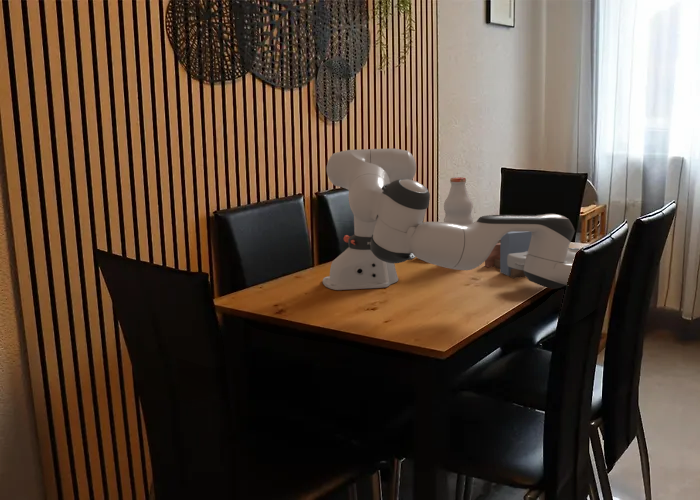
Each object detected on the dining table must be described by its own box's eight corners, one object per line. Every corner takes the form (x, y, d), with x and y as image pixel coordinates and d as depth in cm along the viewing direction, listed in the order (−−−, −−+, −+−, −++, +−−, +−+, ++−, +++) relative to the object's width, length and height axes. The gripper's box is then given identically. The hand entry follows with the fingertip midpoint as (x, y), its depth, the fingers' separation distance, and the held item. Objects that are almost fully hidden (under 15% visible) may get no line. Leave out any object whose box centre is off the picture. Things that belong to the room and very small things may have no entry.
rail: (513, 278, 207) (513, 254, 206) (484, 265, 224) (485, 244, 223) (534, 275, 209) (534, 252, 207) (504, 263, 226) (504, 242, 225)
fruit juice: (461, 259, 234) (461, 175, 229) (479, 264, 226) (479, 177, 220) (438, 263, 230) (437, 178, 224) (455, 268, 222) (454, 180, 216)
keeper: (508, 275, 209) (508, 233, 207) (500, 272, 214) (500, 230, 211) (531, 273, 211) (531, 231, 209) (522, 269, 216) (523, 228, 213)
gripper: (521, 277, 189) (496, 267, 202) (587, 270, 194) (559, 261, 207) (521, 255, 187) (496, 246, 200) (588, 248, 193) (560, 240, 206)
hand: (529, 253), depth 204 cm, fingers closed
